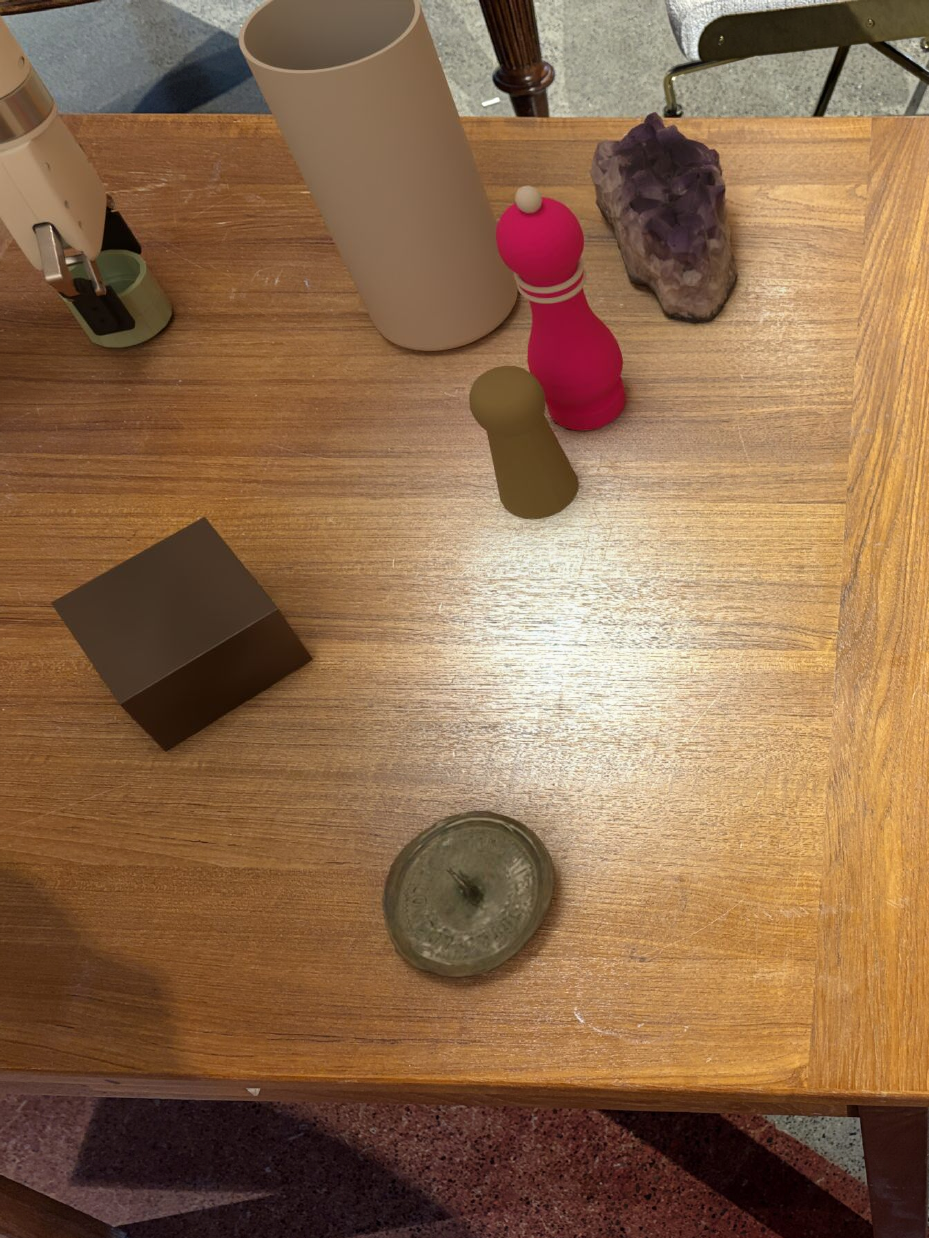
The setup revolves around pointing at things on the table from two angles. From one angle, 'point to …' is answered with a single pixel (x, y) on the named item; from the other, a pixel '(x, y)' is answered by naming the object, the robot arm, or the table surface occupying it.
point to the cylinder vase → (385, 163)
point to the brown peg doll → (522, 443)
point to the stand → (182, 633)
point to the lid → (467, 894)
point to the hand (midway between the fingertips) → (120, 292)
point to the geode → (668, 217)
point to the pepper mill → (561, 313)
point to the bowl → (127, 297)
